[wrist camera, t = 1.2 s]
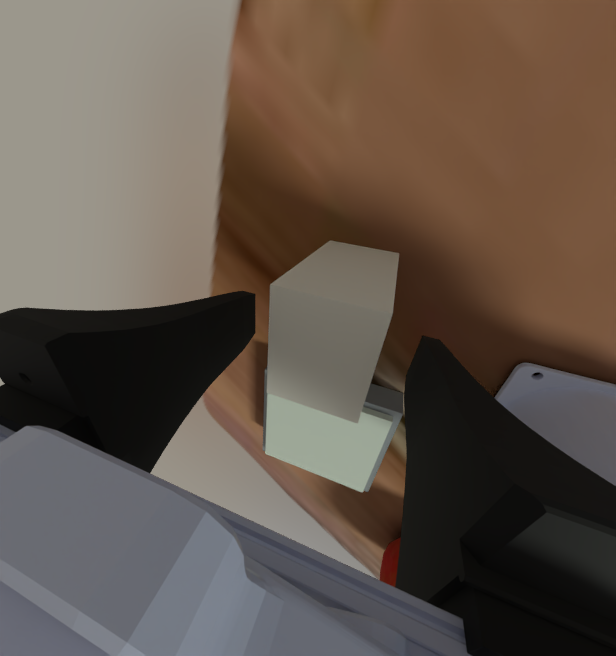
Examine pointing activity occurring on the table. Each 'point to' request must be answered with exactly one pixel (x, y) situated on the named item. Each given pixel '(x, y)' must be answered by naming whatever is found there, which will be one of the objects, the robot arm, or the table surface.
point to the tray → (333, 436)
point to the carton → (330, 327)
